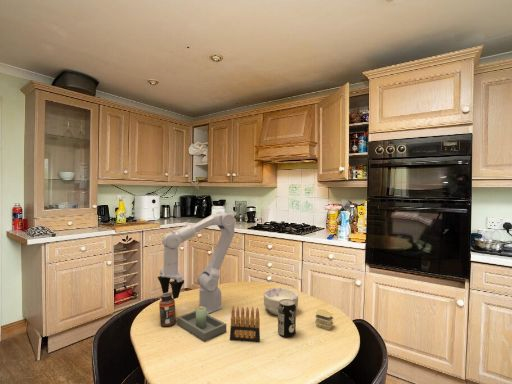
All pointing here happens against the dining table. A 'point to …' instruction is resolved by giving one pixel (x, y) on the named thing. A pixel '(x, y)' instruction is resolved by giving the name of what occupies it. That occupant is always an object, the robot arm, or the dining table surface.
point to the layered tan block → (324, 319)
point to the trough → (211, 330)
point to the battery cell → (201, 317)
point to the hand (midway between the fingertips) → (170, 295)
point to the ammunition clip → (245, 326)
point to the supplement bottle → (167, 310)
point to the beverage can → (286, 318)
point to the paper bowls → (278, 298)
